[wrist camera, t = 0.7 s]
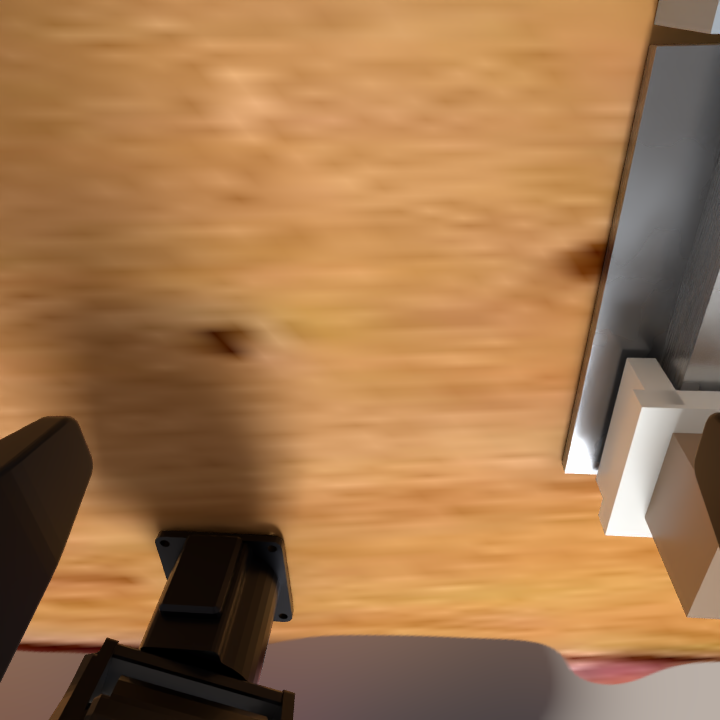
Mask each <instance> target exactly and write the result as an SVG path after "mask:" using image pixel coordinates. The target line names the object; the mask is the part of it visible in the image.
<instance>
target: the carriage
mask: <svg viewBox="0 0 720 720" xmlns="http://www.w3.org/2000/svg"><path fill="white" fill-rule="evenodd" d="M717 412H720V391H680V390H675V388H674V387H673V385H672V383H671V382H670V380H669V379H668V377H667V376H666V374H665V372H664V371H663V369H662V368H661V366H660V365H659V363H658V361H657V360H656V358H627V359H626V363H625V367H624V371H623V375H622V379H621V383H620V387H619V391H618V394H617V398H616V402H615V406H614V410H613V414H612V418H611V422H610V426H609V430H608V434H607V437H606V441H605V445H604V449H603V453H602V457H601V461H600V465H599V469H598V473H597V476H596V481H597V484H598V486H599V489H600V492H601V495H602V498H603V500H602V503H601V507H600V511H599V514H598V515H599V518H600V521H601V524H602V527H603V530H604V533H605V535H612V536H635V537H653V539H654V541H655V544H656V546H657V548H658V551H659V553H660V555H661V558H662V560H663V563H664V565H665V567H666V570H667V572H668V574H669V577H670V579H671V581H672V584H673V586H674V588H675V591H676V593H677V595H678V598H679V600H680V602H681V605H682V607H683V610H684V612H685V614H686V617H691V618H709V619H720V549H719V546H718V543H717V540H716V537H715V534H714V531H713V528H712V525H711V522H710V519H709V516H708V513H707V510H706V507H705V504H704V501H703V498H702V495H701V492H700V489H699V486H698V483H697V480H696V477H695V472H694V460H695V456H696V453H697V449H698V446H699V443H700V439H701V436H702V433H703V430H704V426H705V423H706V421H707V419H708V417H709V416H710V415H712V414H713V413H717Z"/></svg>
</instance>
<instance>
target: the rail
mask: <svg viewBox="0 0 720 720" xmlns="http://www.w3.org/2000/svg"><path fill="white" fill-rule="evenodd" d="M627 358H656V360H657V361H658V363H659V365H660V366H661V368H662V369H663V371H664V372H665V374H666V376H667V377H668V379H669V380H670V382H671V383H672V385H673V387H674V388H675V390H680V391H720V43H698V44H656V45H650V46H649V50H648V55H647V60H646V65H645V69H644V74H643V79H642V84H641V89H640V93H639V98H638V103H637V108H636V112H635V117H634V122H633V127H632V131H631V136H630V141H629V146H628V151H627V155H626V160H625V165H624V170H623V174H622V179H621V184H620V189H619V193H618V198H617V203H616V208H615V213H614V217H613V222H612V227H611V232H610V236H609V241H608V246H607V251H606V256H605V260H604V265H603V270H602V275H601V279H600V284H599V289H598V294H597V298H596V303H595V308H594V313H593V318H592V322H591V327H590V332H589V337H588V341H587V346H586V351H585V356H584V361H583V365H582V370H581V375H580V380H579V384H578V389H577V394H576V399H575V403H574V408H573V413H572V418H571V423H570V427H569V432H568V437H567V442H566V446H565V451H564V456H563V461H562V465H563V468H564V472H565V473H579V474H597V473H598V469H599V465H600V461H601V457H602V453H603V449H604V445H605V441H606V437H607V434H608V430H609V426H610V422H611V418H612V414H613V410H614V406H615V402H616V398H617V394H618V391H619V387H620V383H621V379H622V375H623V371H624V367H625V363H626V359H627Z"/></svg>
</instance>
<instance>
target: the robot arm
mask: <svg viewBox="0 0 720 720" xmlns="http://www.w3.org/2000/svg"><path fill="white" fill-rule="evenodd" d="M92 469H93V461H92V456H91V454H90V451H89V449H88V446H87V444H86V441H85V439H84V436H83V434H82V431H81V429H80V426H79V424H78V422H77V421H76V420H75V419H74V418H72V417H70V416H47V417H43V418H41V419H39V420H37V421H35V422H33V423H31V424H29V425H27V426H25V427H24V428H22V429H20V430H18V431H16V432H14V433H12V434H10V435H8V436H6V437H5V438H3V439H1V440H0V682H1V680H2V678H3V676H4V674H5V672H6V670H7V668H8V666H9V664H10V662H11V660H12V657H13V656H14V654H15V652H16V650H17V648H18V645H19V643H20V641H21V639H22V637H23V635H24V633H25V631H26V629H27V627H28V625H29V623H30V621H31V619H32V617H33V615H34V613H35V611H36V609H37V607H38V605H39V603H40V601H41V599H42V597H43V595H44V593H45V591H46V588H47V586H48V584H49V582H50V580H51V578H52V576H53V574H54V572H55V569H56V567H57V565H58V563H59V560H60V558H61V555H62V553H63V550H64V548H65V545H66V542H67V540H68V537H69V534H70V532H71V529H72V526H73V523H74V521H75V518H76V515H77V513H78V510H79V507H80V504H81V502H82V499H83V496H84V494H85V491H86V488H87V485H88V483H89V480H90V477H91V474H92ZM694 472H695V477H696V480H697V483H698V486H699V489H700V492H701V495H702V498H703V501H704V504H705V507H706V510H707V513H708V516H709V519H710V522H711V525H712V528H713V531H714V534H715V537H716V540H717V543H718V546H719V549H720V412H717V413H713V414H712V415H710V416H709V417H708V419H707V421H706V423H705V426H704V430H703V433H702V436H701V439H700V443H699V446H698V449H697V453H696V456H695V460H694ZM155 544H156V547H157V550H158V553H159V556H160V559H161V562H162V566H163V569H164V572H165V575H166V578H167V583H166V585H165V587H164V590H163V592H162V595H161V597H160V599H159V602H158V604H157V606H156V609H155V611H154V614H153V616H152V618H151V621H150V623H149V625H148V628H147V630H146V633H145V635H144V637H143V640H142V642H141V644H140V647H139V649H136V648H132V647H129V646H126V645H122V644H119V641H117V640H113V639H110V638H106V640H105V642H104V644H103V646H102V648H101V649H100V651H98V653H93V654H88V655H85V656H84V658H83V660H82V662H81V664H80V666H79V668H78V670H77V672H76V674H75V677H74V678H73V680H72V682H71V684H70V686H69V688H68V690H67V692H66V693H65V695H64V697H63V699H62V700H61V702H60V703H59V705H58V707H57V708H56V709H55V711H54V713H53V714H52V716H51V717H50V719H49V720H293V712H294V699H295V693H293V692H290V691H287V690H283V691H279V690H275V689H272V688H268V687H265V686H261V685H259V680H260V676H261V671H262V667H263V663H264V658H265V654H266V650H267V645H268V641H269V636H270V632H271V628H272V623H273V621H278V622H288V621H290V620H291V619H292V616H293V603H292V596H291V589H290V583H289V576H288V569H287V562H286V555H285V548H284V542H283V540H282V539H281V538H279V537H277V536H272V535H250V534H229V533H208V532H187V531H161V532H159V534H158V536H157V538H156V540H155Z"/></svg>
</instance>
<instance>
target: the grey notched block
mask: <svg viewBox="0 0 720 720" xmlns="http://www.w3.org/2000/svg"><path fill="white" fill-rule="evenodd" d="M654 25H660V26H666V27H672V28H678V29H684V30H690V31H696V32H702V33H708V34H720V0H659V3H658V7H657V12H656V17H655V22H654Z"/></svg>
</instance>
